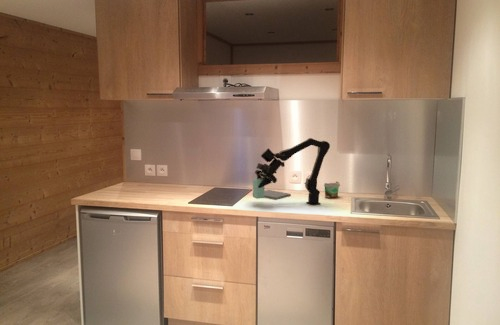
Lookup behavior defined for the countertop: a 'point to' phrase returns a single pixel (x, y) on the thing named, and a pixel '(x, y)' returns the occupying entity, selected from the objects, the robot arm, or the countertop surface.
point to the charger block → (258, 189)
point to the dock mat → (275, 194)
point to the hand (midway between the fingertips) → (256, 186)
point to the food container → (331, 190)
